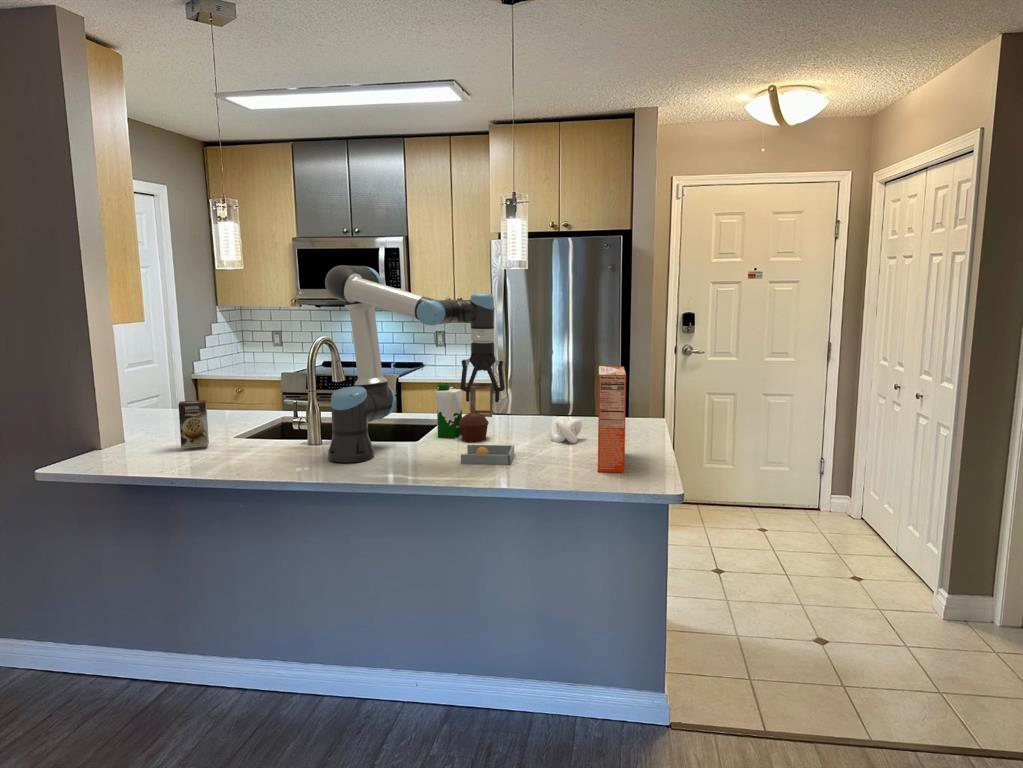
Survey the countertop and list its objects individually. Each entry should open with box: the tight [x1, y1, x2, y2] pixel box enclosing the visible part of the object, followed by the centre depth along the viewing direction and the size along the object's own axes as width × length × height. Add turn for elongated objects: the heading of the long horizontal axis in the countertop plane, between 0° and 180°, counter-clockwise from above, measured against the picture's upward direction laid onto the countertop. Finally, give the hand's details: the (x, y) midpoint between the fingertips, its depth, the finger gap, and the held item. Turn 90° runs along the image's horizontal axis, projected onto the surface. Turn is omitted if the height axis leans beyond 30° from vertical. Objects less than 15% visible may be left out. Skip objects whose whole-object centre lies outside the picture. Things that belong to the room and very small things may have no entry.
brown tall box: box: [178, 400, 210, 449], centre depth 244 cm, size 9×6×16 cm
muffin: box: [459, 412, 490, 443], centre depth 251 cm, size 12×11×10 cm
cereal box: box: [597, 365, 627, 473], centre depth 215 cm, size 23×8×30 cm, turn 173°
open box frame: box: [469, 382, 495, 418], centre depth 221 cm, size 7×7×10 cm
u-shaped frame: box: [460, 444, 515, 466], centre depth 223 cm, size 16×14×3 cm
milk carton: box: [435, 383, 463, 440], centre depth 256 cm, size 9×9×20 cm
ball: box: [476, 447, 489, 455], centre depth 223 cm, size 4×4×4 cm
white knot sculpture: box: [549, 416, 583, 444], centre depth 247 cm, size 11×12×9 cm
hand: (482, 411), depth 221 cm, fingers closed on open box frame, 7 cm apart
